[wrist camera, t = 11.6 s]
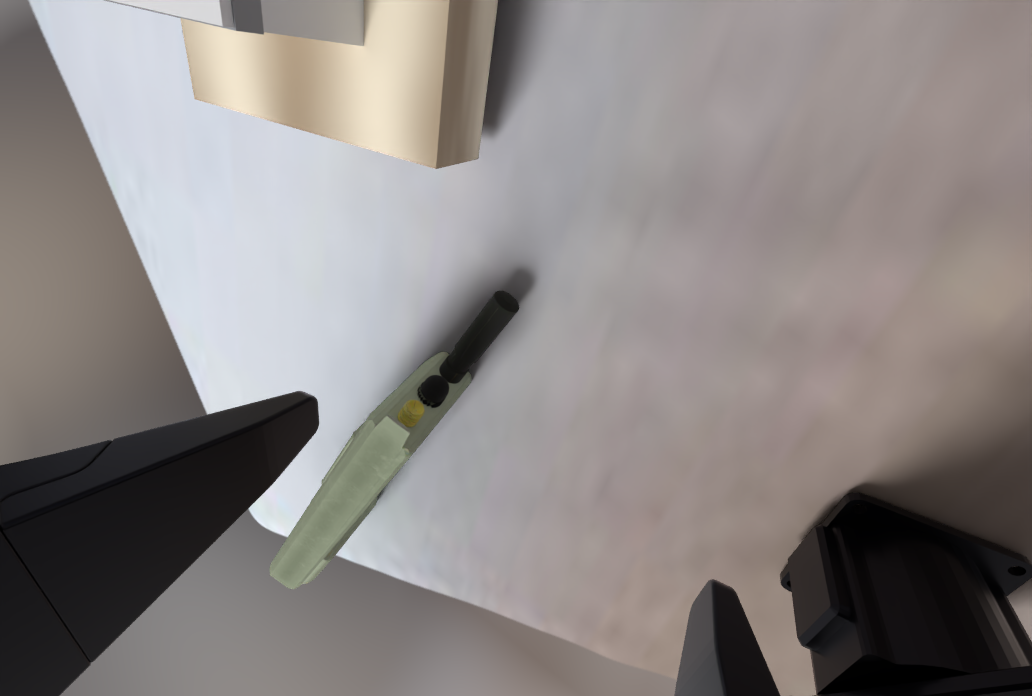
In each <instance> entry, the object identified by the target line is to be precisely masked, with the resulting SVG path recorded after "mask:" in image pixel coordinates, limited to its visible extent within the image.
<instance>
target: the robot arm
mask: <svg viewBox="0 0 1032 696" xmlns="http://www.w3.org/2000/svg"><path fill="white" fill-rule="evenodd" d="M318 426H319V413H318V401H317V399H316V397H314V396H312V395H310V394H308V393H306V392H303V391H297V392H293V393H289V394H285V395H281V396H277V397H273V398H270V399H266V400H262V401H258V402H254V403H250V404H246V405H243V406H239V407H235V408H231V409H227V410H223V411H220V412H216V413H212V414H208V415H205V416H200V417H196V418H193V419H189V420H185V421H181V422H177V423H173V424H170V425H166V426H162V427H158V428H154V429H150V430H147V431H143V432H139V433H135V434H131V435H127V436H124V437H119V438H116V439H114V440H113V441H111V440H107V441H104V442H100V443H97V444H92V445H89V446H84V447H80V448H76V449H72V450H68V451H64V452H60V453H56V454H51V455H47V456H42V457H38V458H33V459H29V460H24V461H19V462H15V463H10V464H5V465H0V696H59V695H61V694H62V693H63V692H64V691H65V690H66V689H67V688H68V687H69V686H70V685H71V684H72V683H73V682H74V681H75V680H76V679H77V678H78V677H79V676H80V675H81V674H82V673H83V672H84V671H85V670H86V669H87V668H88V667H89V666H90V664H91V662H93V661H95V660H96V658H97V657H98V656H100V655H101V654H102V653H103V652H104V651H105V649H107V648H108V647H109V646H110V645H111V644H112V643H113V642H114V641H115V640H116V639H117V638H118V637H119V636H120V635H121V634H122V633H123V632H124V631H125V630H126V629H127V628H128V627H129V626H130V625H131V624H132V623H133V622H134V621H135V620H136V619H137V618H138V617H139V616H140V615H141V614H142V613H143V612H144V611H145V610H146V609H147V608H148V607H149V606H150V605H151V604H152V603H153V602H154V601H155V600H156V599H157V598H158V597H159V596H160V595H161V594H162V593H163V592H164V591H165V590H166V589H167V588H168V587H169V586H170V585H171V584H172V583H173V582H174V581H175V580H176V579H177V578H178V577H179V576H180V575H181V574H182V573H183V572H184V571H185V570H186V569H188V568H189V567H190V566H191V564H193V563H194V562H195V561H196V560H197V559H198V558H199V557H200V556H201V555H202V554H203V553H204V552H205V551H206V550H207V549H208V548H209V547H210V546H211V545H212V544H213V543H214V542H215V541H216V540H217V539H218V538H219V537H220V536H221V535H222V534H223V533H224V532H225V531H226V530H227V529H228V528H229V527H230V526H231V525H232V524H233V523H234V522H235V521H236V520H237V519H238V518H239V517H240V516H241V515H242V514H243V513H244V512H245V511H246V510H247V509H248V508H249V507H250V506H251V505H252V504H253V503H254V502H255V501H256V500H257V499H258V498H259V497H260V496H261V495H262V494H263V493H264V492H265V491H266V490H267V489H268V488H269V487H270V486H271V485H272V484H273V483H274V482H275V481H276V479H277V478H278V477H279V476H280V475H281V474H282V472H283V471H284V470H285V469H286V468H287V466H288V465H289V464H290V463H291V462H292V460H293V459H294V458H295V457H296V456H297V454H298V453H299V452H300V451H301V450H302V448H303V447H304V446H305V445H306V444H307V442H308V441H309V440H310V439H311V438H312V436H313V435H314V434H315V433H316V431H317V429H318ZM856 504H861V505H863V506H861V507H856V506H854V505H856ZM1012 566H1017V567H1012ZM1031 578H1032V564H1031V563H1030V561H1029V560H1028V559H1027V557H1025V556H1023V555H1021V554H1018V553H1016V552H1013V551H1011V550H1008V549H1005V548H1003V547H1000V546H998V545H995V544H993V543H990V542H987V541H985V540H982V539H980V538H977V537H974V536H972V535H969V534H967V533H964V532H961V531H959V530H956V529H954V528H951V527H948V526H946V525H943V524H941V523H938V522H935V521H933V520H930V519H928V518H925V517H922V516H920V515H917V514H915V513H912V512H909V511H907V510H904V509H902V508H899V507H896V506H894V505H891V504H889V503H886V502H883V501H881V500H878V499H876V498H873V497H870V496H868V495H865V494H862V493H851V494H848V495H846V496H845V497H844V498H843V499H842V500H841V501H840V503H839V504H838V505H837V506H836V507H835V509H834V510H833V511H832V512H831V513H830V515H829V516H828V517H827V518H826V519H825V521H824V522H823V523H822V524H821V525H818V526H816V527H814V528H813V529H812V530H811V532H810V533H809V534H808V535H807V537H806V538H805V539H804V540H803V541H802V543H801V544H800V545H799V546H798V547H797V549H796V550H795V551H794V552H793V553H792V555H791V556H790V557H789V558H788V565H787V566H786V567H785V568H784V570H783V571H782V572H781V574H780V580H781V585H782V586H783V587H784V588H785V589H787V590H788V591H791V592H792V598H793V606H794V614H795V622H796V631H797V638H798V640H799V642H800V644H801V645H802V646H803V647H805V648H807V649H810V652H811V659H812V666H813V673H814V680H815V687H816V694H817V695H814V696H1032V642H1031V640H1030V638H1029V636H1028V634H1027V633H1026V631H1025V629H1024V627H1023V625H1022V624H1021V622H1020V620H1019V618H1018V616H1017V615H1016V613H1015V611H1014V609H1013V607H1012V606H1011V604H1010V602H1009V600H1008V598H1007V597H1006V596H1008V595H1009V594H1010V593H1012V592H1013V591H1014V590H1016V589H1017V588H1018V587H1020V586H1021V585H1022V584H1024V583H1025V582H1026V581H1028V580H1029V579H1031ZM674 696H780V694H779V692H778V689H777V687H776V685H775V682H774V680H773V678H772V675H771V673H770V671H769V668H768V666H767V664H766V661H765V659H764V657H763V654H762V652H761V650H760V647H759V645H758V643H757V640H756V638H755V636H754V633H753V631H752V629H751V626H750V624H749V622H748V619H747V617H746V615H745V612H744V610H743V608H742V605H741V603H740V601H739V598H738V596H737V594H736V592H735V591H734V589H733V588H731V587H730V586H727V585H725V584H723V583H721V582H719V581H717V580H714V579H712V580H709V581H708V582H707V584H706V585H705V586H704V588H703V589H702V591H701V592H700V594H699V595H698V596H697V598H696V599H695V601H694V602H693V604H692V607H691V610H690V614H689V619H688V625H687V630H686V635H685V641H684V646H683V651H682V657H681V662H680V667H679V673H678V678H677V683H676V689H675V695H674Z"/></svg>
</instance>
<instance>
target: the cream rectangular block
mask: <svg viewBox="0 0 1032 696" xmlns="http://www.w3.org/2000/svg"><path fill="white" fill-rule="evenodd" d="M497 5H498V0H364V46H357V45H350V44H343V43H336V42H329V41H322V40H315V39H308V38H301V37H294V36H287V35H280V34H273V33H266V32H264V35H262V34H255V33H248V32H240V31H234V30H230V29H226V28H221V27H217V26H213V25H208V24H204V23H200V22H195V21H191V20H187V19H182V18H181V24H182V29H183V35H184V41H185V47H186V52H187V58H188V64H189V70H190V75H191V81H192V87H193V92H194V98H195V99H196V100H200V101H203V102H206V103H210V104H213V105H217V106H220V107H224V108H227V109H231V110H234V111H238V112H241V113H244V114H248V115H251V116H255V117H258V118H262V119H265V120H269V121H272V122H276V123H279V124H282V125H286V126H289V127H293V128H296V129H300V130H303V131H307V132H310V133H314V134H317V135H321V136H324V137H327V138H331V139H334V140H338V141H341V142H345V143H348V144H352V145H355V146H359V147H362V148H365V149H369V150H372V151H376V152H379V153H383V154H386V155H390V156H393V157H397V158H400V159H403V160H407V161H410V162H414V163H417V164H421V165H424V166H428V167H431V168H435V169H438V168H442V167H446V166H450V165H455V164H459V163H463V162H467V161H471V160H476V159H478V157H479V149H480V141H481V133H482V125H483V117H484V109H485V101H486V93H487V85H488V77H489V69H490V61H491V53H492V45H493V37H494V29H495V21H496V13H497Z"/></svg>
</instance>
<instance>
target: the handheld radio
mask: <svg viewBox="0 0 1032 696" xmlns="http://www.w3.org/2000/svg"><path fill="white" fill-rule="evenodd" d="M518 310H519V305H518V302H517V301H516V299H515V298H514V297H513V296H511V295H510V294H509V293H507V292H504V291H497V292H496V293H495V294H494V295H493V297H492V298H491V299H490V301H489V302H488V303H487V305H486V306H485V307H484V309H483V310H482V311H481V313H480V314H479V315H478V317H477V318H476V319H475V321H474V322H473V323H472V325H471V326H470V327H469V329H468V330H467V331H466V333H465V334H464V335H463V336H462V338H461V339H460V340H459V342H458V343H457V344H456V346H455V350H454V351H453V352H452V354H451V355H449V354H448V353H446V352H440V353H437V354H436V355H434V356H433V357H431V358H430V359H428V360H427V361H425V362H424V363H423V364H422V365H421V366H420V367H419V368H418V369H417V370H416V371H414V372H413V373H412V374H411V375H410V376H409V377H408V378H407V379H406V380H405V381H404V382H403V383H402V384H401V385H400V386H399V387H398V388H397V389H396V390H395V391H394V392H393V393H392V394H391V395H389V396H388V397H387V398H386V399H385V400H384V401H383V402H382V403H381V404H380V405H379V406H378V407H377V408H376V409H375V410H374V411H373V412H372V413H371V414H370V415H369V416H368V418H367V419H366V421H365V422H364V423H363V424H362V425H361V426H360V427H359V428H358V429H357V430H356V431H354V432H353V435H352V436H351V438H350V439H349V441H348V442H347V444H346V445H345V447H344V448H343V450H342V451H341V453H340V455H339V456H338V458H337V459H336V461H335V462H334V464H333V465H332V467H331V468H330V470H329V471H328V473H327V474H326V476H325V477H324V479H322V486H321V487H320V489H319V490H318V492H317V493H316V495H315V496H314V498H313V499H312V501H311V502H310V504H309V506H308V507H307V509H306V510H305V512H304V513H303V515H302V516H301V518H300V520H299V521H298V523H297V524H296V526H295V527H294V529H293V530H292V532H291V533H290V535H289V536H288V538H287V540H286V541H285V543H284V544H283V546H282V547H281V549H280V550H279V552H278V553H277V555H276V556H275V558H274V559H273V561H272V563H271V565H270V575H271V576H272V577H273V578H275V579H276V580H278V581H279V582H280V583H282V584H283V585H285V586H286V587H287V588H290V589H296V588H298V587H300V586H301V584H307V583H309V582H311V581H313V580H314V579H315V578H316V577H317V576H318V574H319V573H320V572H321V571H322V570H323V569H324V568H325V566H326V565H327V564H328V563H329V562H330V561H331V560H332V558H333V557H334V556H335V555H336V554H337V552H338V551H339V550H340V549H341V547H342V546H343V545H344V544H345V542H346V541H347V540H348V539H349V537H350V536H351V535H352V534H353V532H354V531H355V530H356V529H357V527H358V526H359V525H360V524H361V522H362V521H363V520H364V519H365V517H366V516H367V515H368V514H369V513H370V511H371V510H372V509H373V508H374V506H375V505H376V502H377V499H378V498H377V495H378V494H379V493H380V492H381V491H382V490H383V488H384V487H385V486H386V485H387V484H388V483H389V481H390V480H391V479H392V478H393V477H394V476H395V474H396V473H397V472H398V471H399V470H400V468H401V467H402V466H403V465H404V464H405V463H406V461H407V460H408V459H409V458H410V456H411V455H412V454H413V453H414V452H415V451H416V449H417V448H418V447H419V446H420V444H421V443H422V442H423V441H424V440H425V438H426V437H427V436H428V435H429V433H430V432H431V431H432V430H433V429H434V427H435V426H436V425H437V424H438V422H439V421H440V420H441V419H442V417H443V416H444V415H445V414H446V413H447V411H448V410H449V409H450V408H451V406H452V405H453V404H454V403H455V402H456V400H457V399H458V398H459V397H460V395H461V394H462V393H463V392H464V390H465V389H466V388H467V387H468V386H469V384H470V383H471V374H470V373H469V372H468V370H469V368H470V366H471V365H472V364H473V363H475V362H476V361H477V360H478V359H479V358H480V356H481V355H482V354H483V353H484V352H485V350H486V349H487V348H488V347H489V345H490V344H491V343H492V342H493V341H494V339H495V338H496V337H497V336H498V335H499V333H500V332H501V331H502V330H503V328H504V327H505V326H506V325H507V324H508V322H509V321H510V320H511V319H512V317H513V316H514V315H515V314H516V313H517V311H518Z"/></svg>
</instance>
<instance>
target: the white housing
mask: <svg viewBox="0 0 1032 696" xmlns="http://www.w3.org/2000/svg"><path fill="white" fill-rule="evenodd" d="M105 1H109V2H113V3H118V4H122V5H126V6H131V7H135V8H139V9H144V10H148V11H152V12H157V13H161V14H165V15H170V16H174V17H178V18H182V19H187V20H191V21H195V22H200V23H204V24H208V25H213V26H217V27H221V28H226V29H230V30H234V31H240V32H248V33H255V34H262V35H264V32H266V33H273V34H280V35H287V36H294V37H301V38H308V39H315V40H322V41H329V42H336V43H343V44H350V45H357V46H364V0H105Z"/></svg>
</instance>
